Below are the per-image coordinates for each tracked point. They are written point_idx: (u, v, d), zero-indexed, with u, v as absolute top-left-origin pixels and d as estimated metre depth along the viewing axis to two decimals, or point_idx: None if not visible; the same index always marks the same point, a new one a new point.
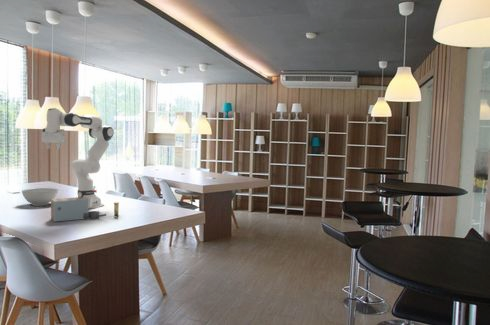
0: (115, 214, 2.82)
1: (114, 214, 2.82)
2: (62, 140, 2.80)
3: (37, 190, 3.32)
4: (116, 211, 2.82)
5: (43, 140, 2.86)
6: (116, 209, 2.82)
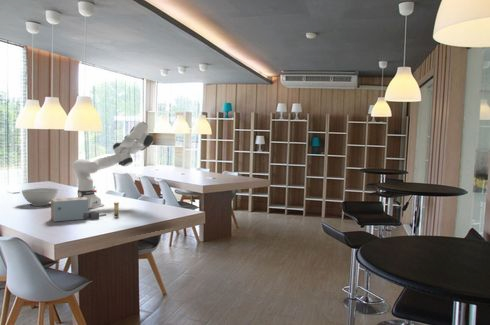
0: (115, 214, 2.82)
1: (114, 214, 2.82)
2: (133, 146, 2.82)
3: (37, 190, 3.32)
4: (116, 211, 2.82)
5: (120, 145, 2.94)
6: (116, 209, 2.82)
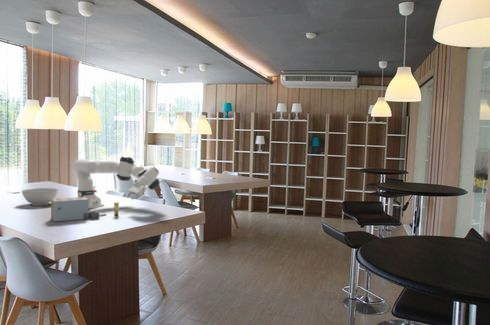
0: (115, 214, 2.82)
1: (114, 214, 2.82)
2: (139, 192, 2.82)
3: (37, 190, 3.32)
4: (116, 211, 2.82)
5: (129, 189, 2.96)
6: (116, 209, 2.82)
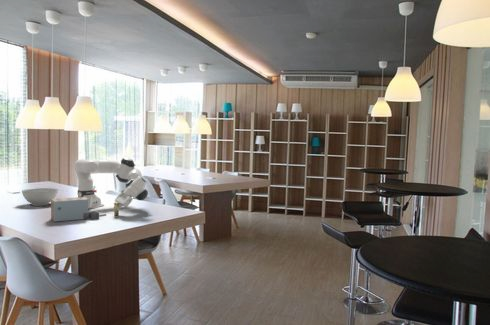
0: (115, 214, 2.82)
1: (114, 214, 2.82)
2: (125, 203, 2.77)
3: (37, 190, 3.32)
4: (116, 211, 2.82)
5: (116, 199, 2.91)
6: (116, 209, 2.82)
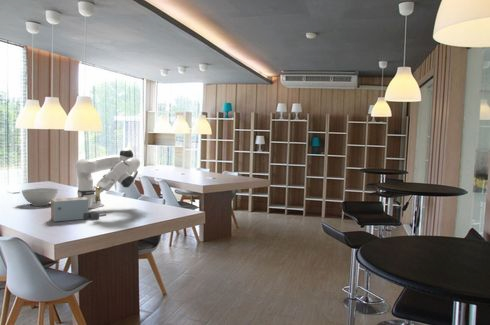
0: (96, 199, 2.73)
1: (95, 199, 2.73)
2: (107, 187, 2.68)
3: (37, 190, 3.32)
4: (97, 195, 2.73)
5: (97, 184, 2.82)
6: None
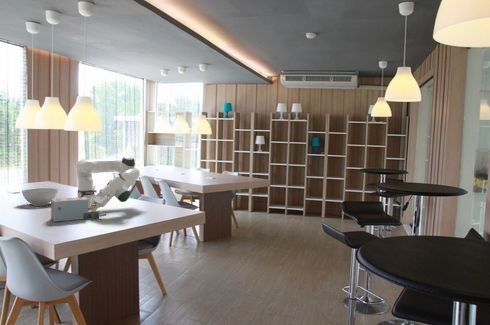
0: None
1: None
2: (102, 203, 2.67)
3: (37, 190, 3.32)
4: None
5: (94, 198, 2.81)
6: (93, 211, 2.73)
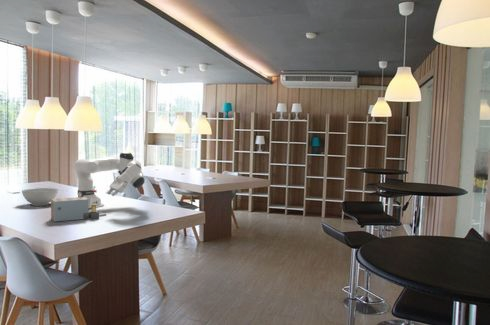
0: None
1: None
2: (120, 189, 2.74)
3: (37, 190, 3.32)
4: None
5: (110, 185, 2.88)
6: (93, 211, 2.73)
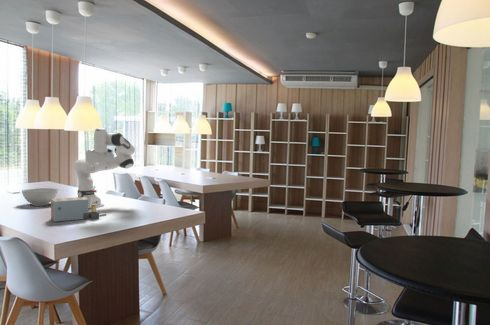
0: None
1: None
2: (85, 160, 2.82)
3: (37, 190, 3.32)
4: None
5: None
6: (93, 211, 2.73)
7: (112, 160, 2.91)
